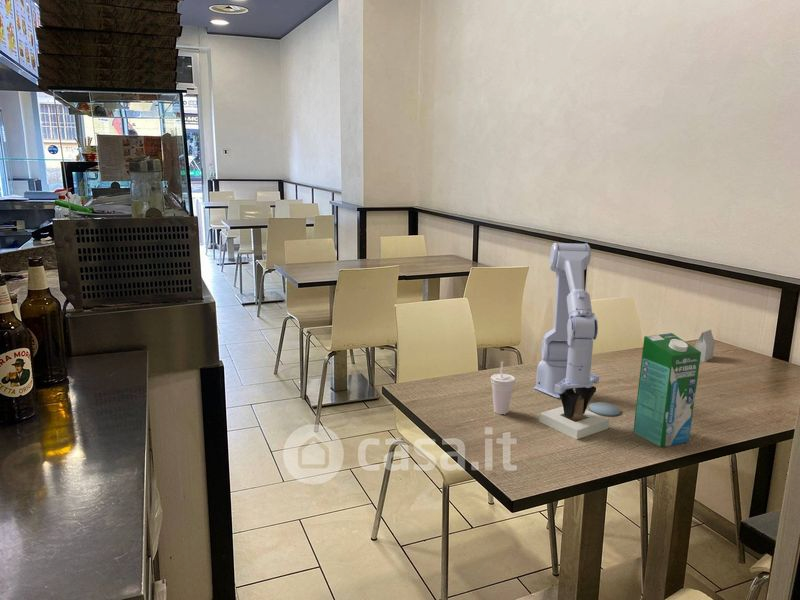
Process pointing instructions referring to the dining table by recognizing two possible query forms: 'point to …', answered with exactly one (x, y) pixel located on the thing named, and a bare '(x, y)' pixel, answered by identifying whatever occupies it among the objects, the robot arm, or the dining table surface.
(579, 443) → the dining table surface
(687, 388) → the milk carton
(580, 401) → the walnut dowel
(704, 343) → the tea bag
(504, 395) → the smoothie
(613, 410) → the coaster
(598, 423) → the holder block
